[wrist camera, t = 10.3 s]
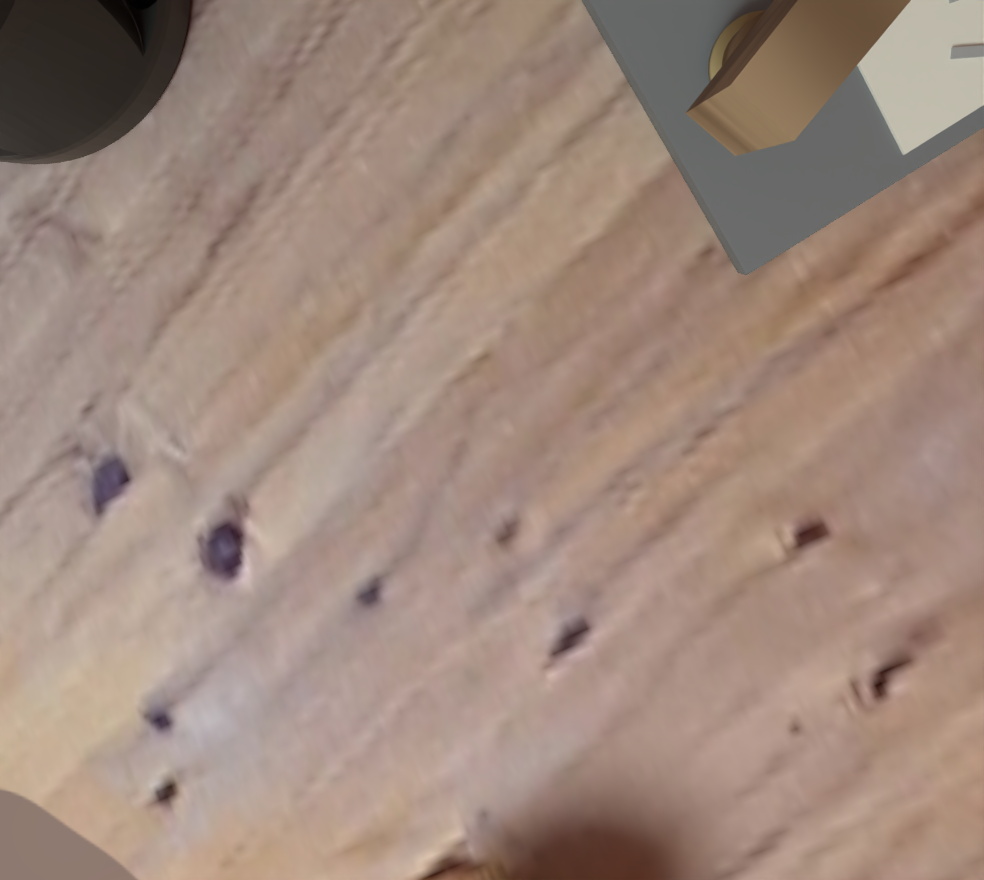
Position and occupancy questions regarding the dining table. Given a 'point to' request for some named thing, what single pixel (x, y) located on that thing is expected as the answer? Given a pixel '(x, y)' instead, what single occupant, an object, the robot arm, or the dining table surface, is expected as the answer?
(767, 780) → the dining table surface
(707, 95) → the wooden pointer lever
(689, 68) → the tuner board
